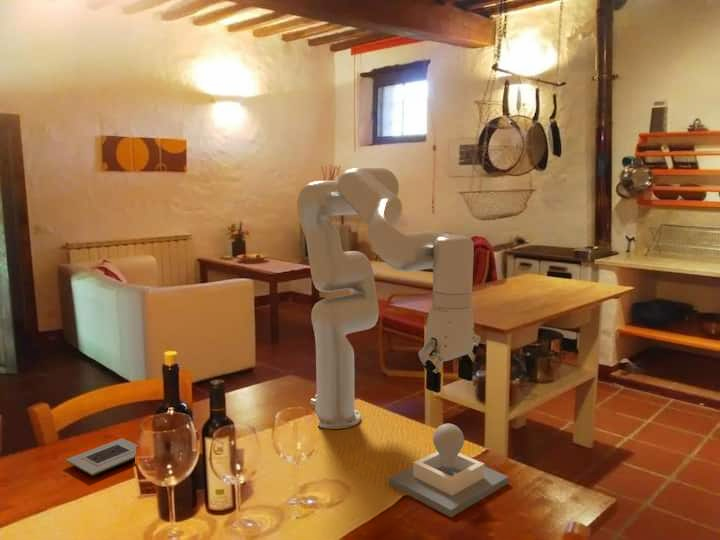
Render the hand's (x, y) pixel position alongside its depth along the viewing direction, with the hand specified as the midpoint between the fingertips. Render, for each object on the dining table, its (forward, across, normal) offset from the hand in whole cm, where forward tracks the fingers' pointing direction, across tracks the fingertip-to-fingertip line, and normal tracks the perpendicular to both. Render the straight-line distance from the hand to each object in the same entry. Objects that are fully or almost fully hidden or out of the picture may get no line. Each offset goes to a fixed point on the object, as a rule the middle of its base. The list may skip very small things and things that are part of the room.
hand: (449, 384), depth 119 cm
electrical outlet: (+22, +48, -55) cm, 76 cm away
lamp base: (+20, +1, +1) cm, 21 cm away
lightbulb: (+19, +1, +1) cm, 19 cm away
